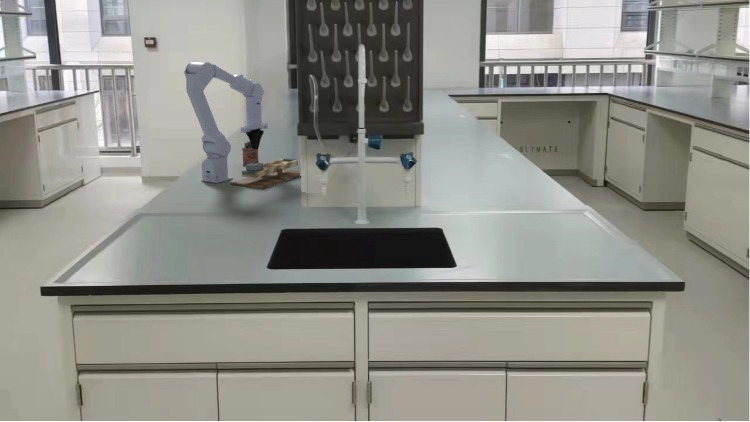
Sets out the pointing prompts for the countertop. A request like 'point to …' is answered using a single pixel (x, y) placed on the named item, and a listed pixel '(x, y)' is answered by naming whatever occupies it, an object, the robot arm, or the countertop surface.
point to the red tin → (249, 154)
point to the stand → (268, 179)
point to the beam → (271, 168)
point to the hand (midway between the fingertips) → (255, 148)
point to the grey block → (254, 167)
